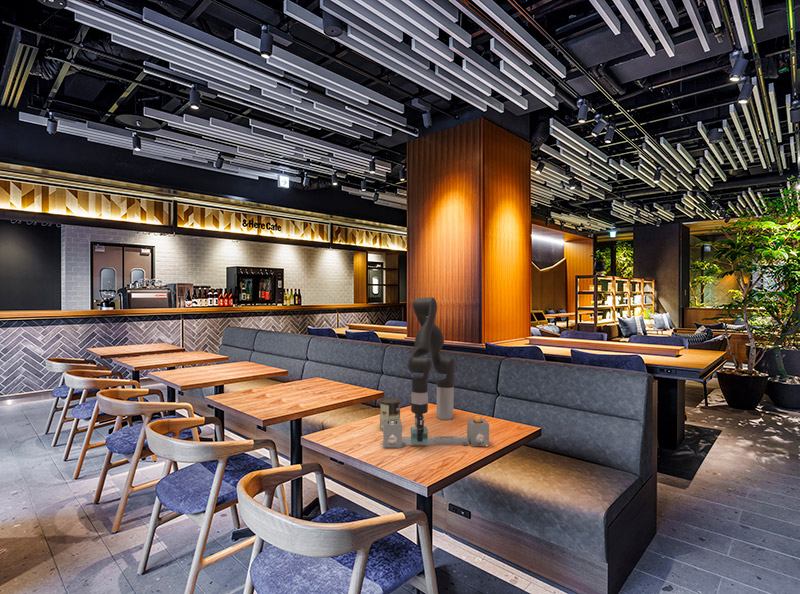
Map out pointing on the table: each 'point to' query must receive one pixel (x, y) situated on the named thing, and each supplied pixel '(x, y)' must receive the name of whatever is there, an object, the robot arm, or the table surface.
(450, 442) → the rail
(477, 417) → the button
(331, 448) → the table surface
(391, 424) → the cabinet
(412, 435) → the carriage
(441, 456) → the table surface
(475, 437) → the cabinet
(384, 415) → the coffee can
